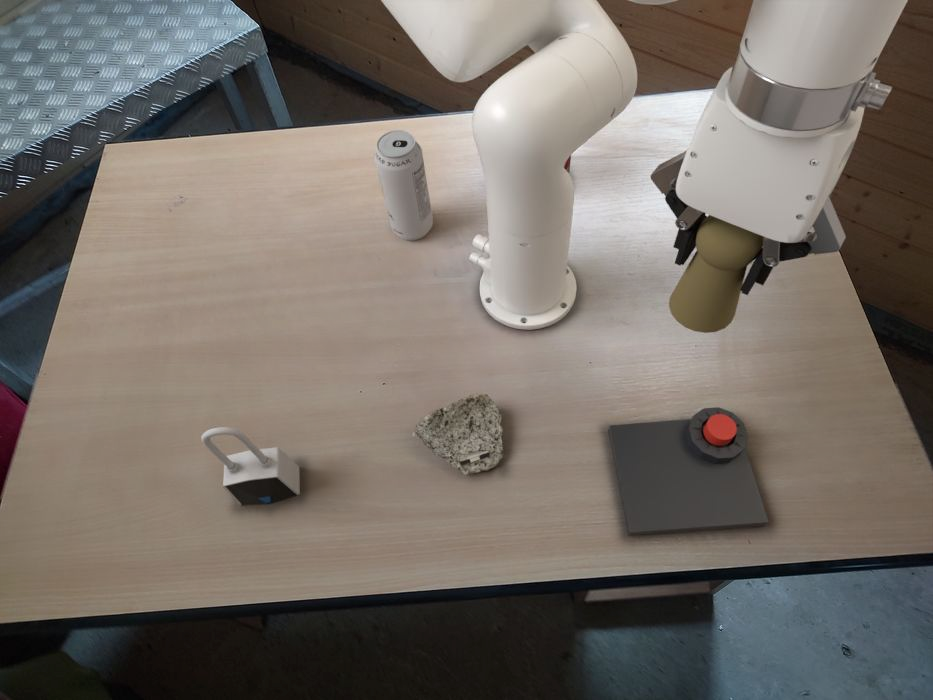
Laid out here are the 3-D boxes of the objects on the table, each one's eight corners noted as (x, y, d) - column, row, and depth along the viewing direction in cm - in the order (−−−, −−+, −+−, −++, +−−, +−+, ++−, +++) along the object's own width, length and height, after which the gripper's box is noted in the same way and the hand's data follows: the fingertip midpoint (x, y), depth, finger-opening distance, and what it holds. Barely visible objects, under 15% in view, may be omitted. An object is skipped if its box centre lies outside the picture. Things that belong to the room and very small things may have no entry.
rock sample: (461, 496, 63) (444, 414, 62) (420, 484, 70) (403, 409, 68) (532, 460, 70) (518, 385, 68) (489, 452, 76) (474, 383, 74)
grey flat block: (628, 536, 64) (632, 528, 62) (607, 426, 71) (610, 415, 68) (764, 526, 64) (775, 517, 61) (730, 417, 70) (738, 405, 68)
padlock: (239, 509, 68) (177, 457, 56) (241, 473, 71) (181, 415, 58) (299, 498, 69) (250, 444, 56) (299, 463, 71) (252, 403, 58)
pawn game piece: (740, 290, 59) (781, 206, 50) (728, 340, 56) (769, 261, 47) (676, 274, 61) (704, 190, 52) (662, 322, 58) (688, 241, 49)
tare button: (707, 447, 66) (711, 440, 64) (699, 422, 67) (704, 415, 66) (735, 445, 66) (740, 438, 64) (727, 419, 67) (732, 412, 66)
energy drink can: (396, 211, 91) (377, 126, 78) (436, 213, 90) (424, 127, 77) (388, 242, 88) (367, 158, 75) (429, 244, 87) (415, 160, 74)
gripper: (961, 89, 37) (833, 281, 52) (691, 14, 43) (647, 205, 58) (925, 163, 34) (800, 344, 49) (640, 71, 40) (608, 256, 55)
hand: (717, 267), depth 54 cm, fingers closed on pawn game piece, 5 cm apart
